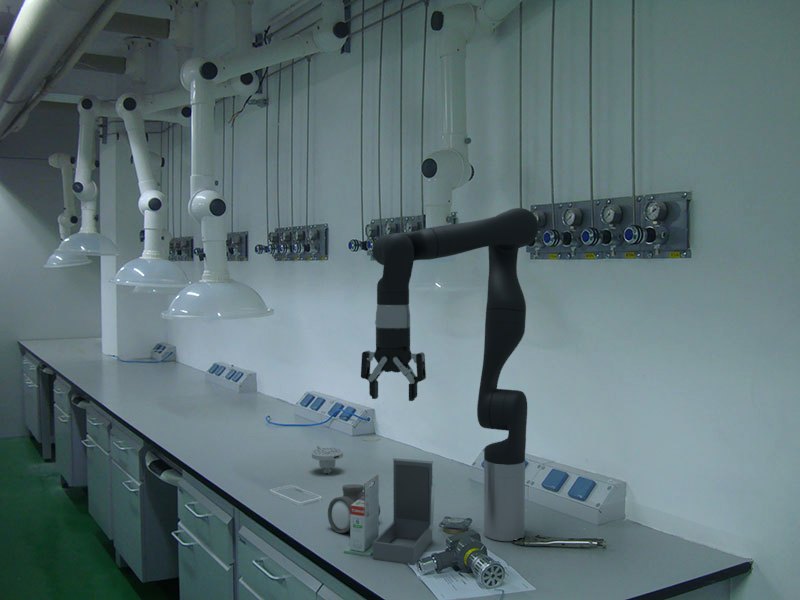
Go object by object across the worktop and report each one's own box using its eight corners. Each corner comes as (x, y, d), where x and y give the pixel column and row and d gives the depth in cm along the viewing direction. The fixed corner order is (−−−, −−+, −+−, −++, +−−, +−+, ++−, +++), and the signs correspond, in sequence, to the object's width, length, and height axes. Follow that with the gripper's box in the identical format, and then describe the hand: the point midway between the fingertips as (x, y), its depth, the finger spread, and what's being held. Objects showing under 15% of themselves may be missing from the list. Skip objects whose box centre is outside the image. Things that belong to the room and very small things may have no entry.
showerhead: (330, 443, 213) (349, 449, 205) (330, 466, 213) (349, 472, 205) (304, 448, 206) (323, 454, 199) (304, 471, 207) (323, 478, 199)
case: (393, 535, 154) (393, 457, 154) (435, 541, 151) (435, 460, 151) (372, 558, 142) (372, 473, 141) (417, 565, 138) (417, 477, 138)
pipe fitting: (349, 536, 153) (350, 489, 154) (325, 530, 158) (326, 485, 159) (386, 528, 162) (386, 484, 163) (362, 523, 167) (363, 480, 168)
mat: (359, 537, 153) (359, 535, 153) (384, 540, 151) (384, 539, 151) (343, 552, 145) (343, 550, 145) (370, 556, 143) (370, 554, 143)
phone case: (268, 494, 186) (299, 508, 175) (268, 489, 186) (299, 502, 175) (291, 489, 191) (323, 501, 180) (291, 484, 191) (322, 496, 180)
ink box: (349, 550, 145) (349, 482, 145) (364, 537, 152) (364, 472, 152) (365, 552, 144) (364, 484, 143) (379, 539, 151) (379, 474, 151)
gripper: (429, 325, 149) (429, 398, 149) (368, 323, 154) (369, 395, 154) (419, 327, 142) (419, 404, 142) (356, 325, 147) (356, 400, 147)
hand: (393, 399), depth 148 cm, fingers open, 8 cm apart
